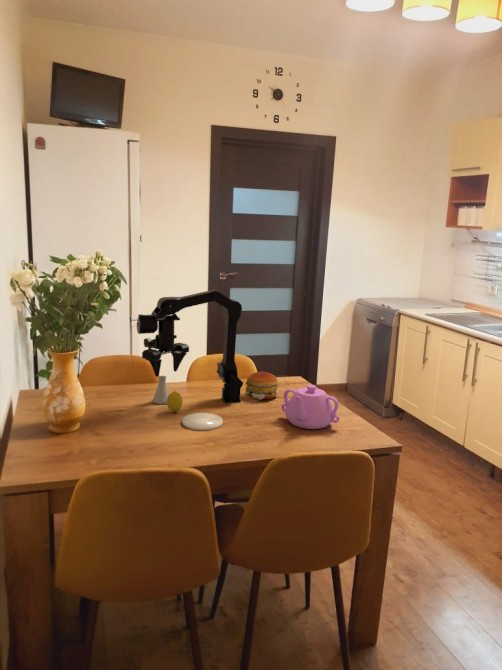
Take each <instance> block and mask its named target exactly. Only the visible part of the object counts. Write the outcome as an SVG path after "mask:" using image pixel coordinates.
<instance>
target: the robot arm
mask: <svg viewBox="0 0 502 670" xmlns="http://www.w3.org/2000/svg"><path fill="white" fill-rule="evenodd" d="M212 302H214V303H215V304H217V305H218V306H220V307H221V311H222V312H221V313H222V316H223V321H224V332H223V333H224V335H223V348H222V349H223V351H222V359H221V362H217V363H216V365H217V370H216V373H217V375H218V378H219V379H221V381H222V382H223V387H222V388H221V399H222V400H223V402H224V403H241V402H242V400H241V388H242V387H243V385H244V382H243V381H242V379H240V377H239V376H238V374H239V373H238V367H237V363H236V361H235V357H236V343H237V342H236V340H237V326H238V322H239V320H240V319H241V315H242V312H243V311H242V310H243V305H242V304H241V303H240V302H239V301H237V300H235V299H232V298H228V297H227V296H226V295H224V294H223V293H221V291H220V290H218V289H217V290H216V289H215V288H214V289H210V290H206V291H202V292H197V293H192V294H188V295H183V296H162V297H160V298H159V299H158V301H157V303H156V306H155V308H154V309H153V310H152V312H151V314H142V313H141V314H138V316H137V322H136V332H137V334H139V335H140V334H143V335H144V334H155V332H157V331H158V334H155V337H154V339H153V338H151V337H146V338H144V339H143V345H144V347H145V348H147V349H144V350H143V351H142V352H141V358H142V359H144V360H146V361H148V362H149V363H150V365H151V367H152V370H153V372H154V376H155V377H157V378H158V376H160V372H161V365H162V359H161V357H162V356H163V355H168V354H171V356H172V367H173V372H177V371H178V369H179V367H180V365H181V363H182V362H183V360H184V358H185V356H186V355H187V353H189V352H190V346H189V344H187V343H183V342H176V343H175V339H178V336H177V334H176V335H175V321H180V320H181V318H180V317H179V316H178V315H177V314H176V313H179V312H180V311H182V310H184V309H186V308H191V307H193V306H200V305H203V304H204V305H205V304H207V303H212Z"/></svg>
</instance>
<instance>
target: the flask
mask: <svg viewBox="0 0 502 670" xmlns="http://www.w3.org/2000/svg"><path fill="white" fill-rule="evenodd" d="M157 378H158V383H157V388H156V391H155V393H154V396H153V399H152V403H153V404H155V405H156V404H157V405H167V398H168V396H169V394H170V393H169V391H168V386H167V383H166V381H167V375H159V376H158V377H157Z"/></svg>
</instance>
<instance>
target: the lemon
mask: <svg viewBox="0 0 502 670" xmlns="http://www.w3.org/2000/svg"><path fill="white" fill-rule="evenodd" d="M166 406H167V409H168V410H170V411H171V412H173V413H176V412H177V411H179V410H181V408H182V406H183V398H182V395H181V393H180V392H177V391H176V390H174V391H172V392H170V393H169V396H168V398H167V404H166Z"/></svg>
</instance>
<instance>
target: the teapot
mask: <svg viewBox="0 0 502 670" xmlns="http://www.w3.org/2000/svg"><path fill="white" fill-rule="evenodd" d="M289 392H291V393H293V394H292V396H291V397H290V399H289V397H288V396H289V395H288V394H289ZM283 400H284V403H283V404H281V405H280V408H281V409H280V410H282V411H283V412H284V415H285V418H286V419H287V420H288V421H289V423H290V424H292V425H293V426H295V427H298V428H303V429H306V430H309V429H310V430H318V429H324V428H327V427H328V426H329V425H330V424H332V423H333V424H337V423H339V422H340V420H341V419H340V416H339V415H338V414H337V412H338V409H339V400H338V399H337V398H336V397H335V396H332V395H328V394H327V392H326V391H325V390H323V389H320V388H317V385H315V384H307V385H306V387H300V388H298V389H295V388H287V389H286V390H285V391H284V393H283ZM332 401H333V403H334V407H333V404H332Z"/></svg>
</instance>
